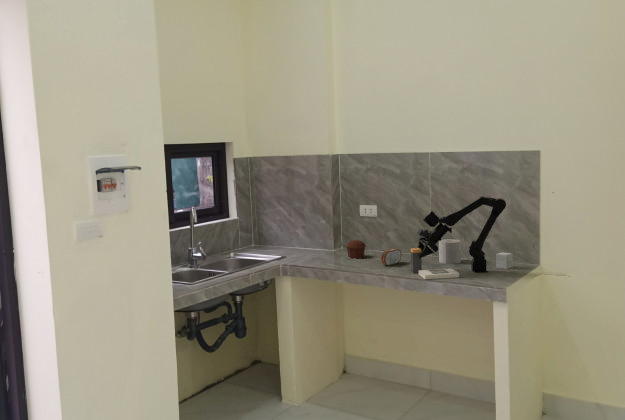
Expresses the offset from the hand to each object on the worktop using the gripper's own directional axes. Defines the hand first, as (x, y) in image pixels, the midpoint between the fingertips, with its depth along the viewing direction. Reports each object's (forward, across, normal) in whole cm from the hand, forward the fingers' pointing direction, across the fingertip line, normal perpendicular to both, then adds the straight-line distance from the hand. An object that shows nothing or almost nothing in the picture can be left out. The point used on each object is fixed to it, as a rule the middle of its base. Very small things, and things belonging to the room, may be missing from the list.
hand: (416, 256), depth 323 cm
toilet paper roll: (-11, -21, +23) cm, 33 cm away
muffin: (+22, -50, -10) cm, 56 cm away
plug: (+6, 0, +6) cm, 8 cm away
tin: (+12, -23, 0) cm, 26 cm away
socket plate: (0, +12, +11) cm, 16 cm away
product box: (-26, +1, +38) cm, 46 cm away
